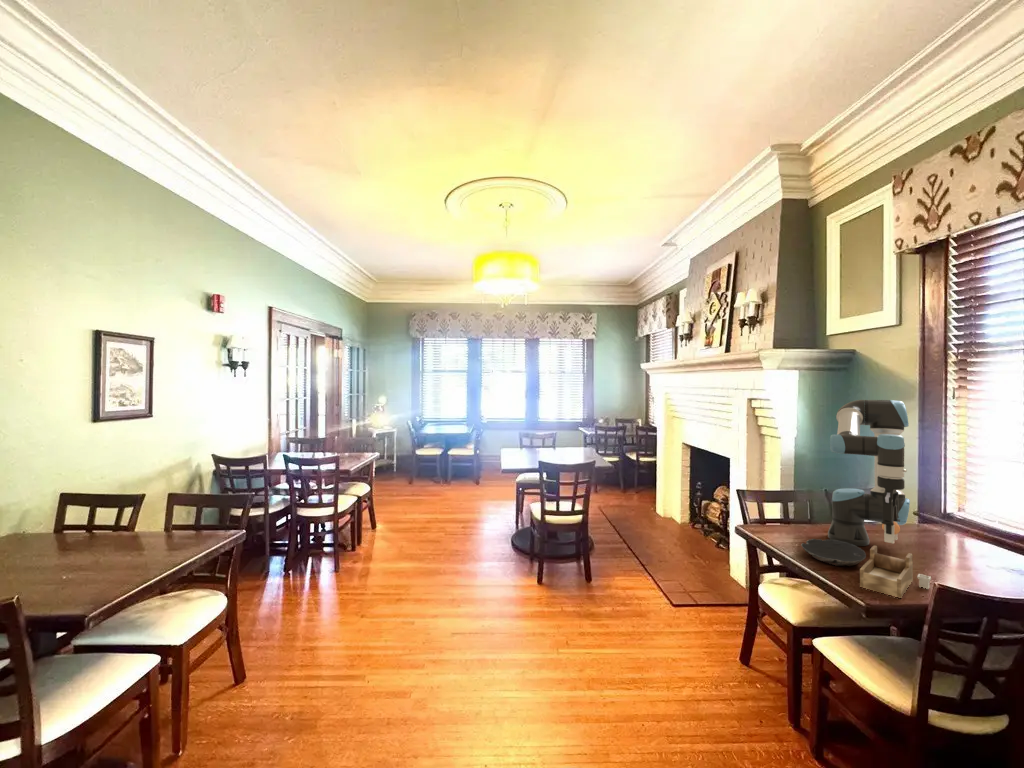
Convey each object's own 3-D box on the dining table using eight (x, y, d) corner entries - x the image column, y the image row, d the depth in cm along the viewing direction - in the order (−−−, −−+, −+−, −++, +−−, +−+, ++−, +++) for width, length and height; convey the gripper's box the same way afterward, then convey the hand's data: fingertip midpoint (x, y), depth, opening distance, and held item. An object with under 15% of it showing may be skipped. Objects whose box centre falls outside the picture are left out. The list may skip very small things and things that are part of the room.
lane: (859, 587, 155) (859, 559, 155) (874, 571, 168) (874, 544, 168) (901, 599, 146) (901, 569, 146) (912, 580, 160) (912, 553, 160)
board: (882, 566, 172) (881, 553, 172) (840, 576, 166) (839, 563, 166) (827, 546, 193) (826, 535, 193) (788, 555, 187) (788, 543, 187)
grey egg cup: (917, 586, 155) (917, 576, 155) (918, 584, 157) (918, 573, 157) (929, 590, 152) (929, 579, 152) (931, 587, 154) (931, 576, 154)
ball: (880, 534, 160) (880, 520, 160) (883, 531, 164) (883, 517, 164) (898, 537, 157) (898, 523, 157) (901, 534, 160) (901, 520, 160)
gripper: (899, 482, 151) (899, 549, 152) (908, 475, 163) (909, 537, 163) (871, 478, 157) (872, 543, 157) (882, 472, 169) (883, 532, 169)
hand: (890, 540), depth 160 cm, fingers closed on ball, 5 cm apart
